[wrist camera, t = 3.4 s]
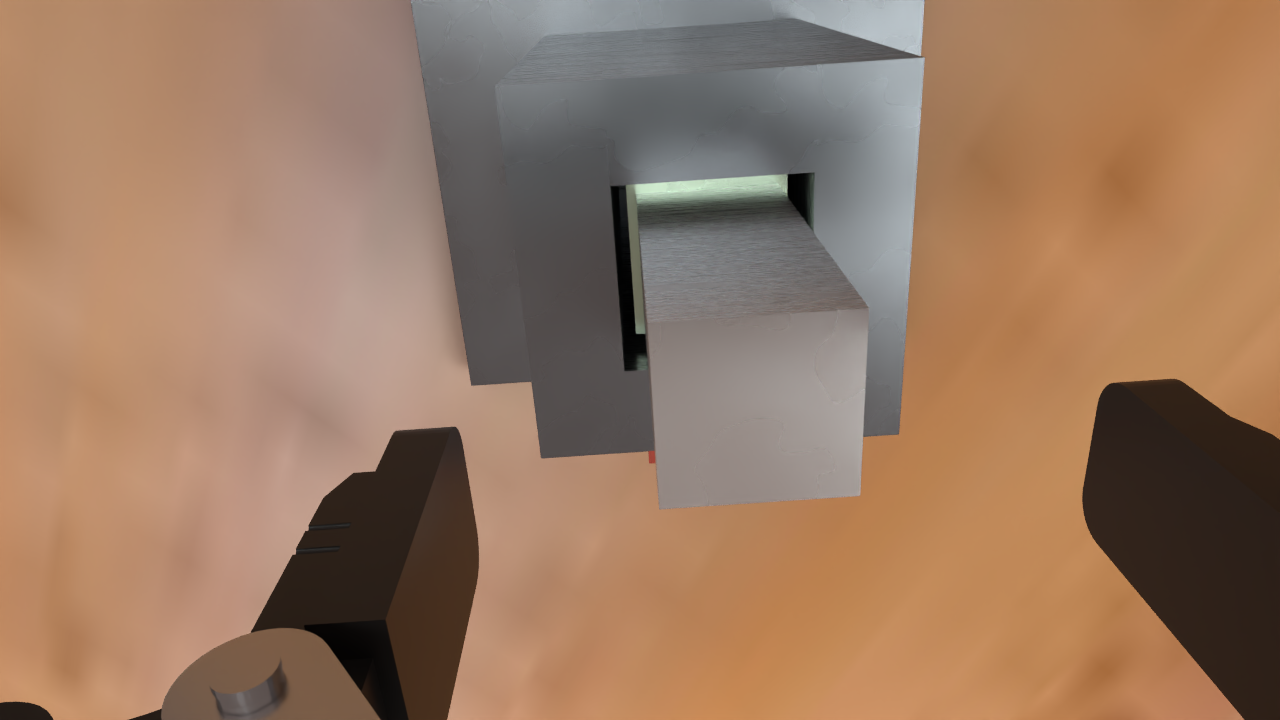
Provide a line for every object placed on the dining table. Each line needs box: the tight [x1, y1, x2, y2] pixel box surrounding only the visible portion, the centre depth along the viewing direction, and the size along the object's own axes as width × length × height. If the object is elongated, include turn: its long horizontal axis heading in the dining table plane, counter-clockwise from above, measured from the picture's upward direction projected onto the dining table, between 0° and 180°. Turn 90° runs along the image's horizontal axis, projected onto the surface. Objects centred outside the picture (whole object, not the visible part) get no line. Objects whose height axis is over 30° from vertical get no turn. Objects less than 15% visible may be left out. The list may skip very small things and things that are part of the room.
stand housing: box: [411, 0, 925, 463], centre depth 24 cm, size 16×16×14 cm
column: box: [626, 174, 869, 509], centre depth 21 cm, size 3×3×18 cm
